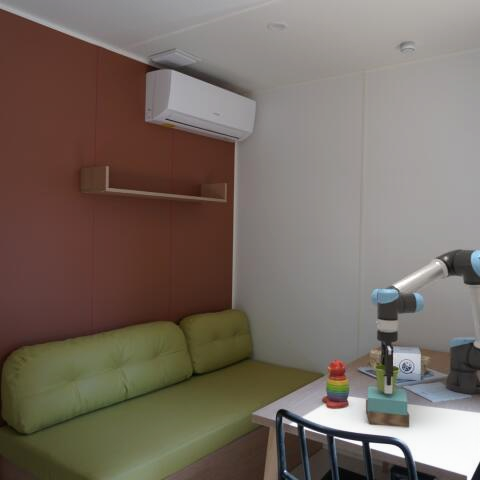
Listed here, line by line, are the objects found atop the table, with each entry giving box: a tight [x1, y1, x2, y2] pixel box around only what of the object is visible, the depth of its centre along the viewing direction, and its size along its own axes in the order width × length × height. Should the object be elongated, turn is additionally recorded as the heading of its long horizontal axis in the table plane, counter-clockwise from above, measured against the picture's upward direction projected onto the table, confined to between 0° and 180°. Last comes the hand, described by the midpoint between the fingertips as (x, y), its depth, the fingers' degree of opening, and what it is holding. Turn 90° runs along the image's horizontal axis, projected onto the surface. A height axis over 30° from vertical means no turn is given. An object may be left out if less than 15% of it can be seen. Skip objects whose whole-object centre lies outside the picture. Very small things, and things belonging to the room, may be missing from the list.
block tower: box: [369, 349, 431, 376], centre depth 255 cm, size 8×8×29 cm
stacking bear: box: [321, 359, 350, 410], centre depth 203 cm, size 11×10×18 cm
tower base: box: [365, 398, 410, 428], centre depth 188 cm, size 14×14×5 cm
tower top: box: [367, 385, 408, 415], centre depth 188 cm, size 14×14×5 cm
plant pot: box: [373, 364, 400, 392], centre depth 188 cm, size 9×9×9 cm
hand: (386, 389), depth 188 cm, fingers closed on plant pot, 8 cm apart
